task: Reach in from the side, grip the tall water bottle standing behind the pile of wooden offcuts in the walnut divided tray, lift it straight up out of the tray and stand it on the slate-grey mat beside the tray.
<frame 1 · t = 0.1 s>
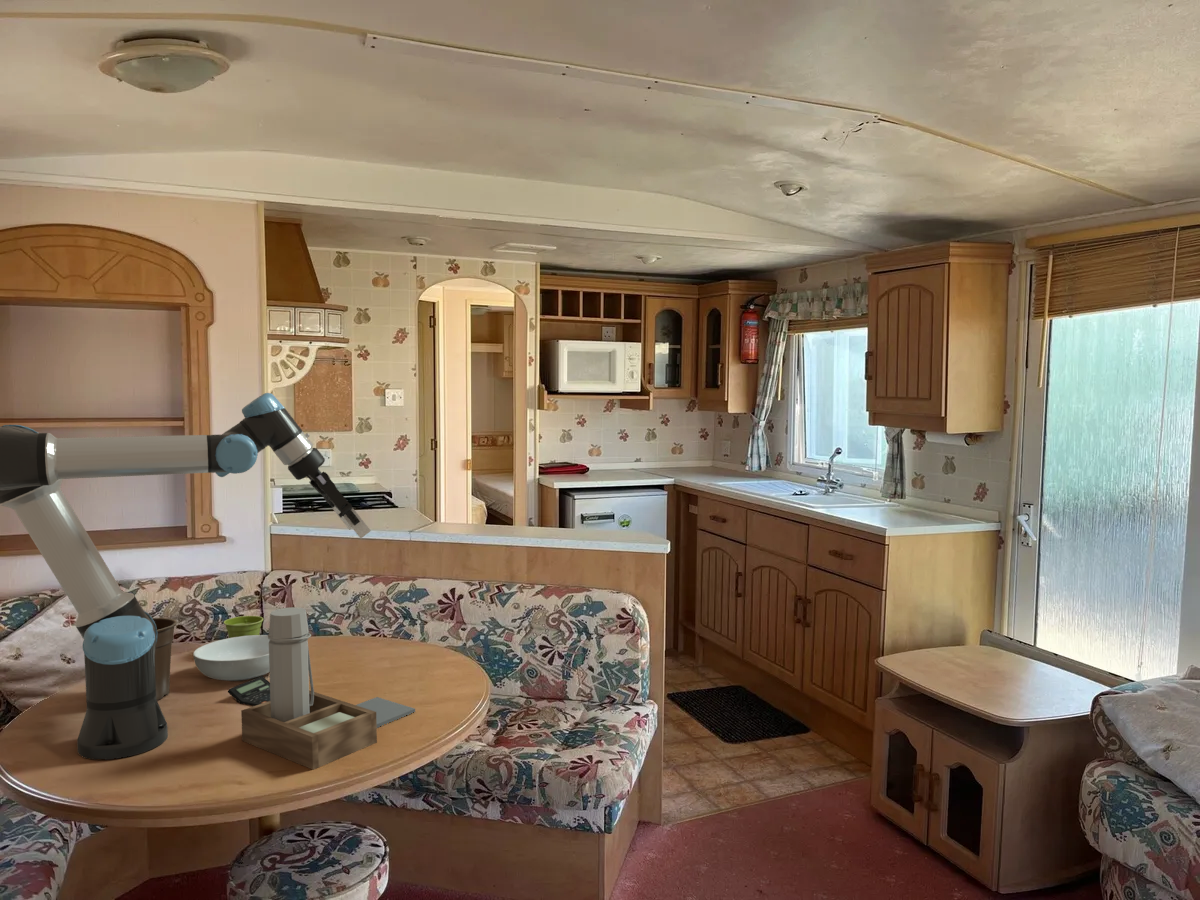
hand: (359, 530, 194), 36 cm above the table, tool tilted 35°, fingers open, 13 cm apart
water bottle: (295, 737, 167), resting in walnut divided tray
serving bowl: (242, 675, 203), on the table
calculator: (264, 699, 188), on the table
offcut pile: (328, 750, 161), resting in walnut divided tray
slate mat: (373, 715, 177), on the table
plant pot 2: (244, 653, 220), on the table
walnut divided tray: (309, 741, 164), on the table
plant pot: (137, 699, 188), on the table, touching arm
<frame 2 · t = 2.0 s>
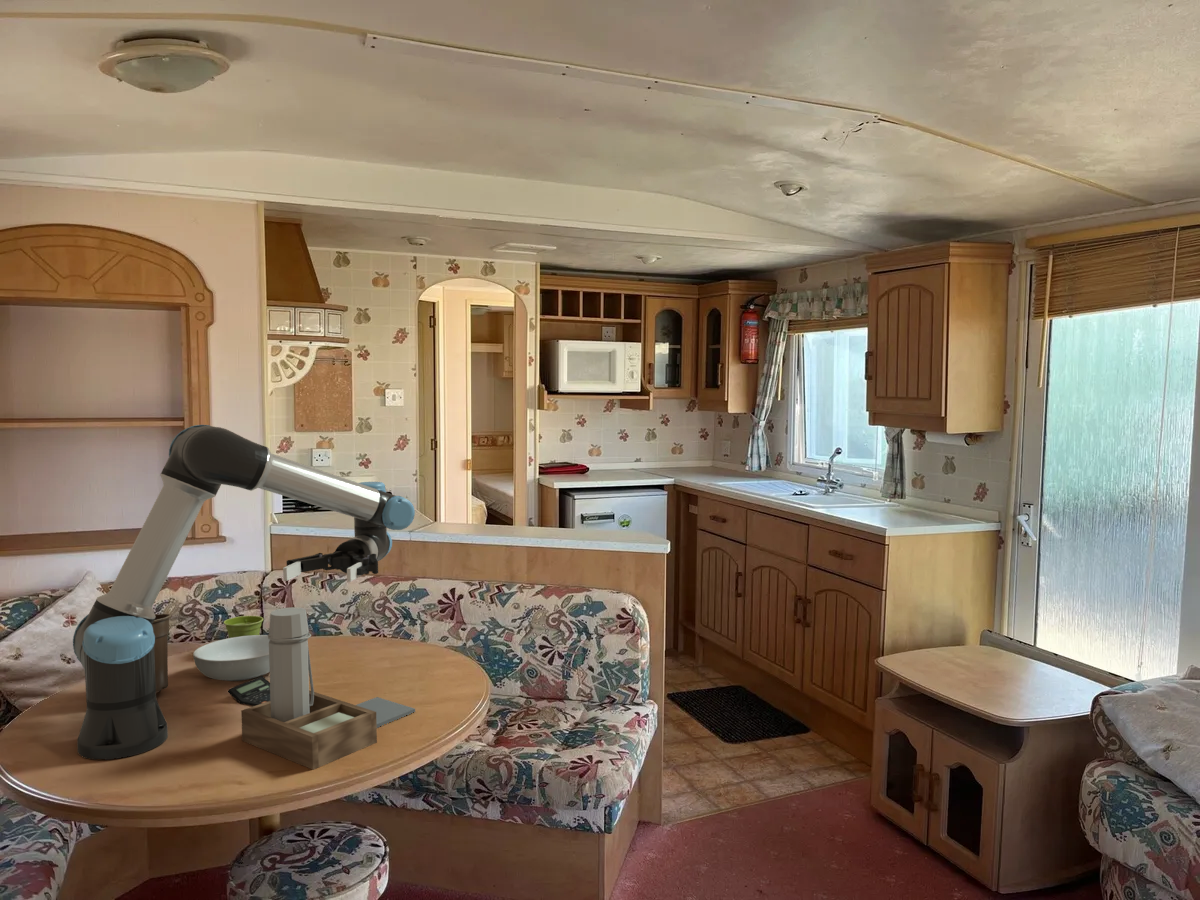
hand: (316, 574, 175), 30 cm above the table, tool horizontal, fingers open, 13 cm apart
plant pot: (136, 694, 188), point 1 cm above the table, touching arm
everything else where it was.
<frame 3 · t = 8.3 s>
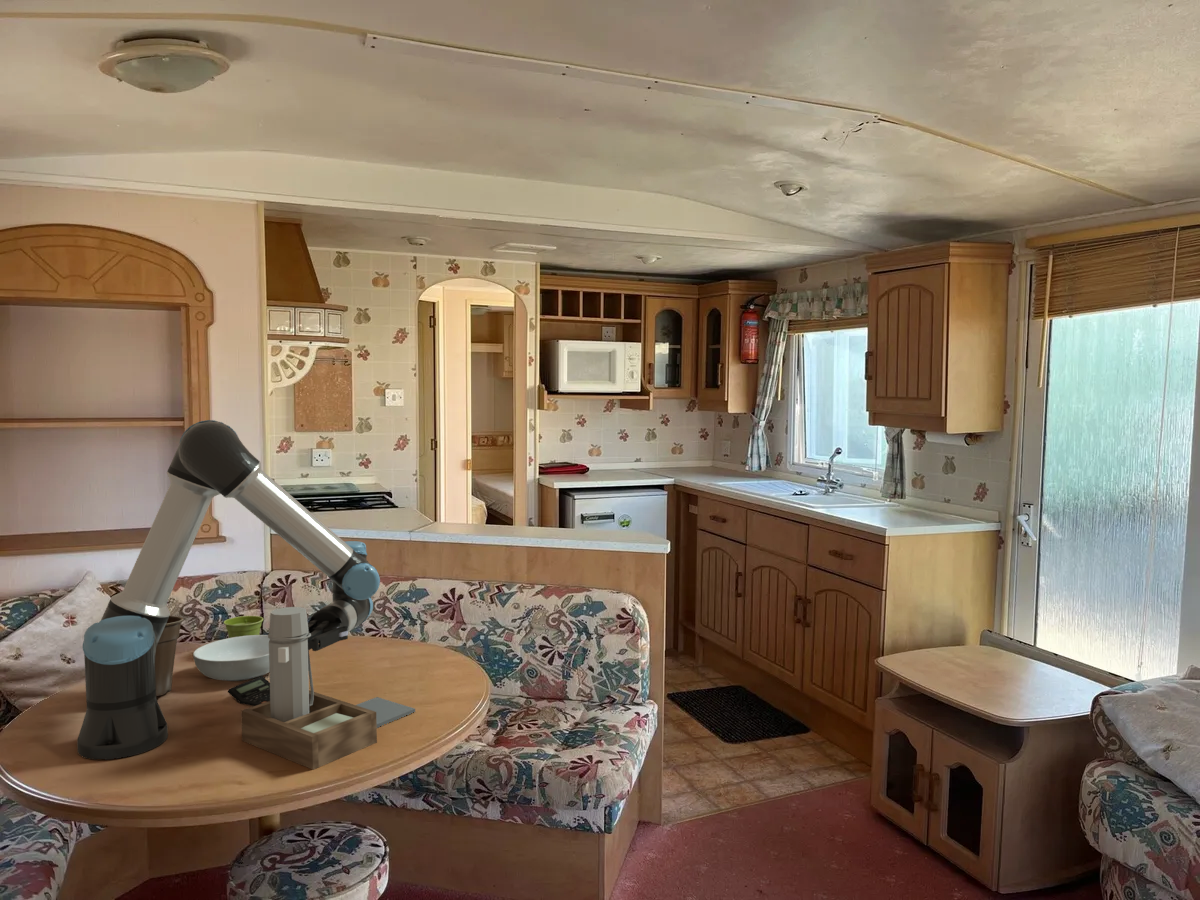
hand: (281, 655, 160), 18 cm above the table, tool horizontal, fingers closed
water bottle: (294, 737, 167), resting in walnut divided tray, touching gripper
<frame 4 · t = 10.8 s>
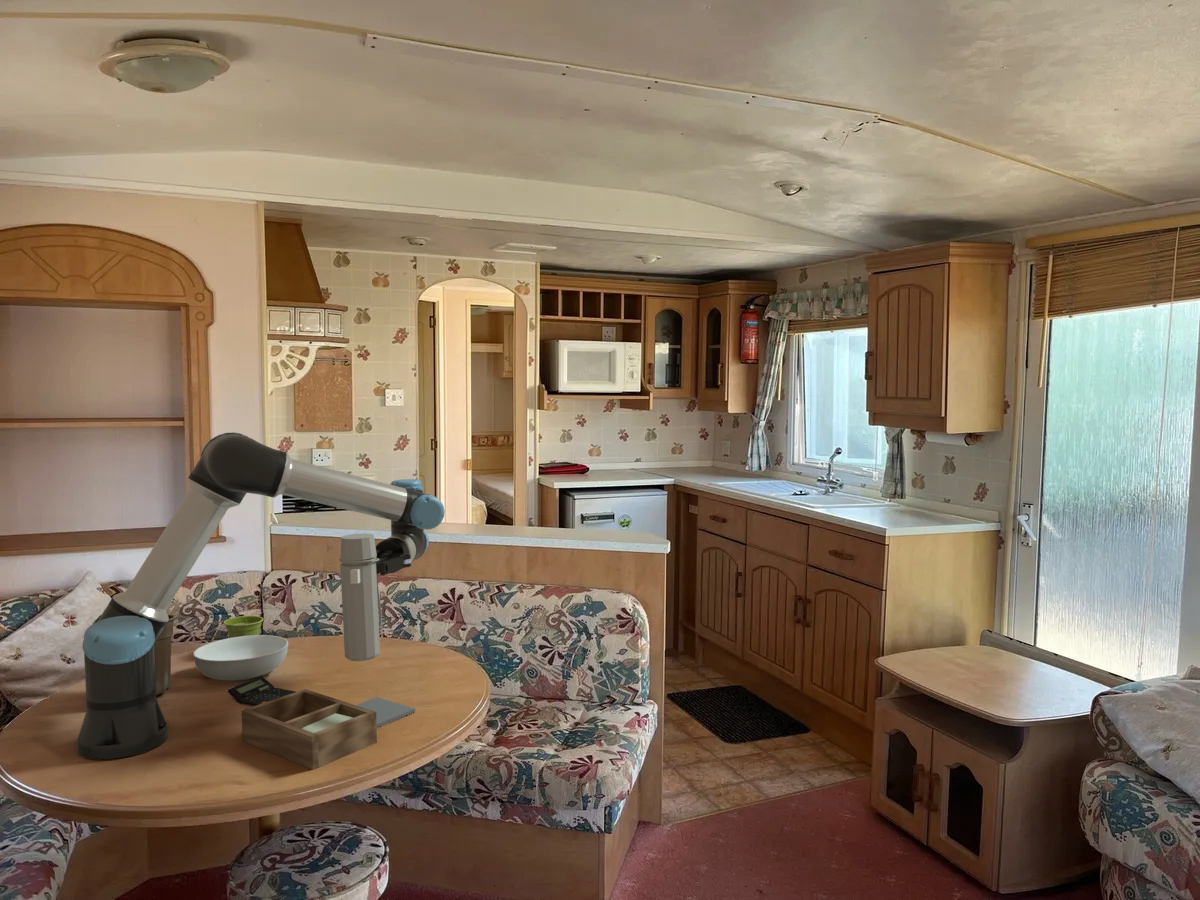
hand: (354, 576, 169), 31 cm above the table, tool horizontal, fingers closed
water bottle: (366, 656, 175), point 13 cm above the table, touching gripper
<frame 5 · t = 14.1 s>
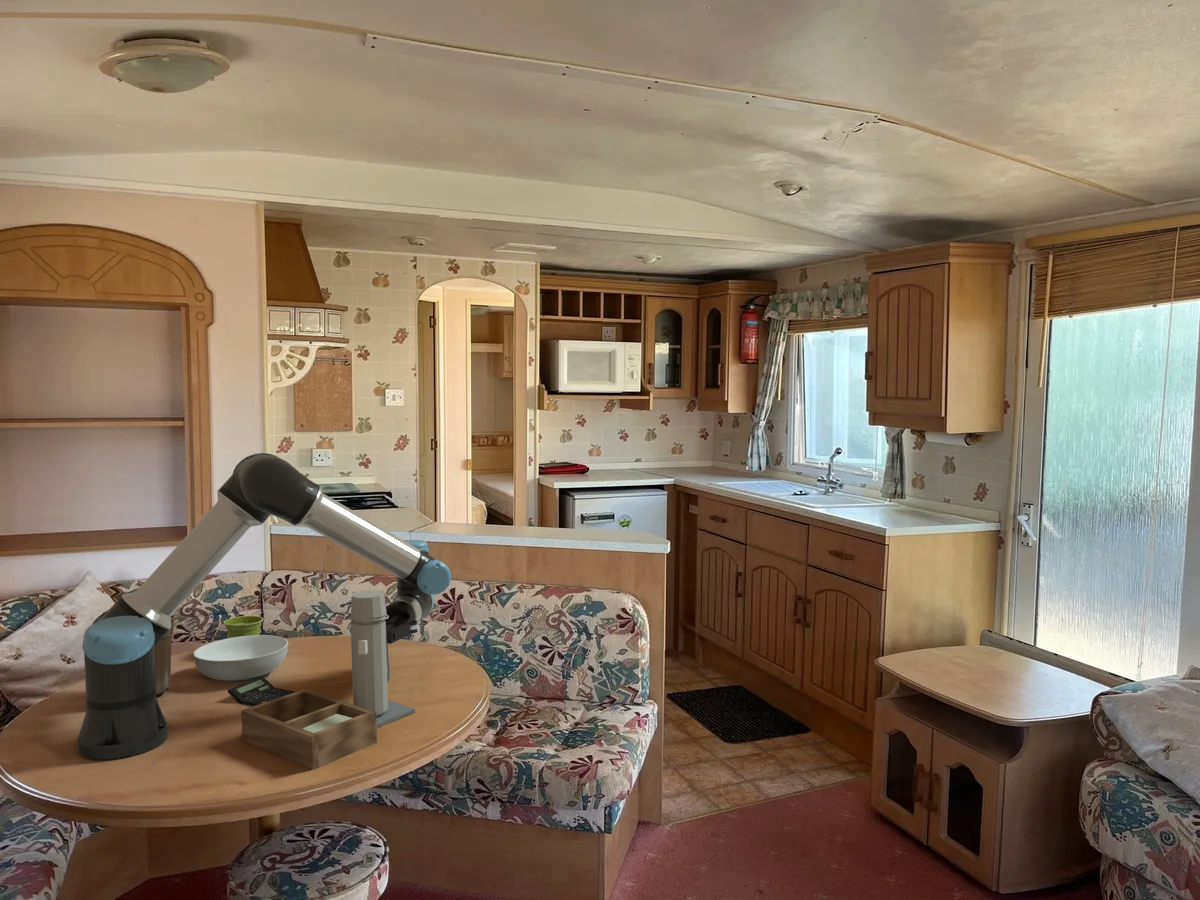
hand: (361, 647, 171), 16 cm above the table, tool horizontal, fingers closed
water bottle: (374, 712, 177), point 1 cm above the table, touching gripper, slate mat
everything else where it was.
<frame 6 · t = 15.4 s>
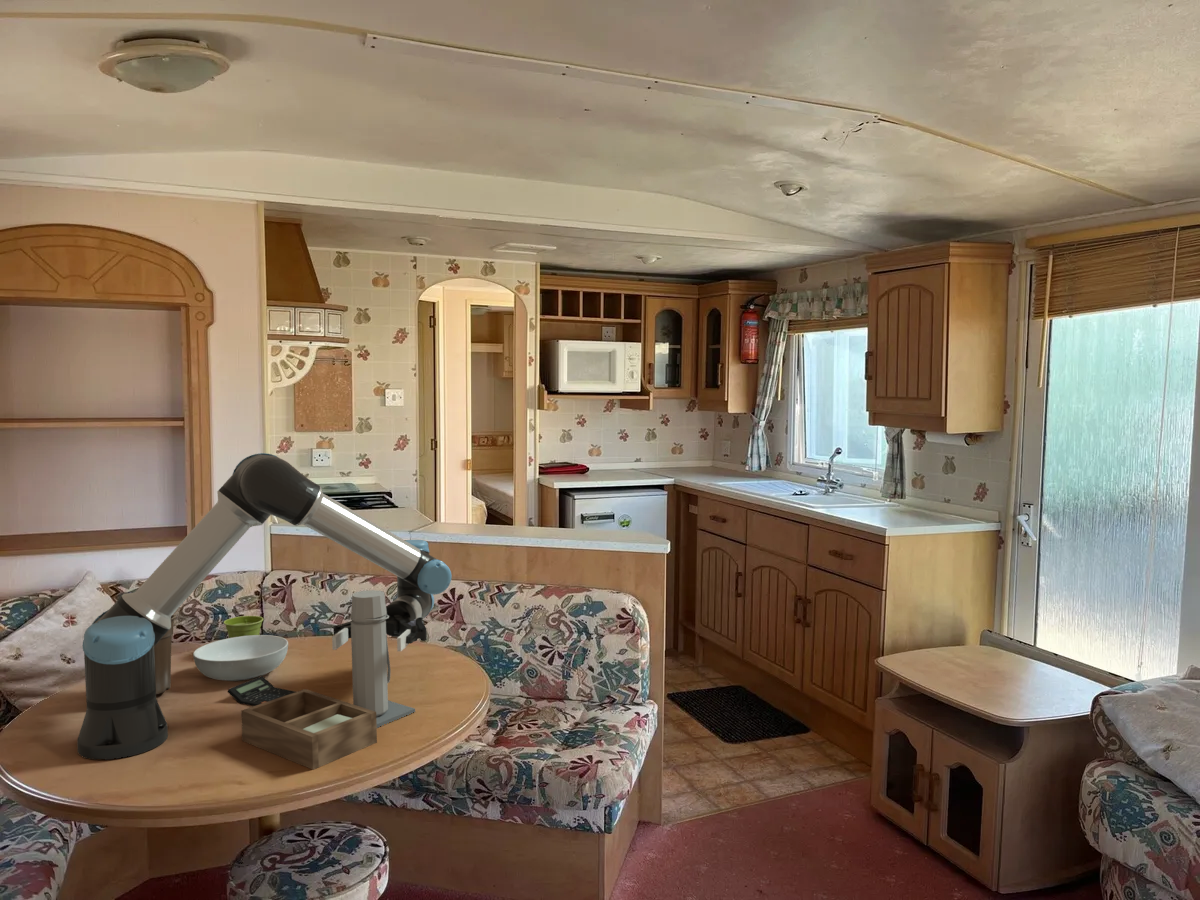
hand: (366, 644, 173), 16 cm above the table, tool horizontal, fingers open, 13 cm apart
water bottle: (374, 712, 177), point 1 cm above the table, touching slate mat
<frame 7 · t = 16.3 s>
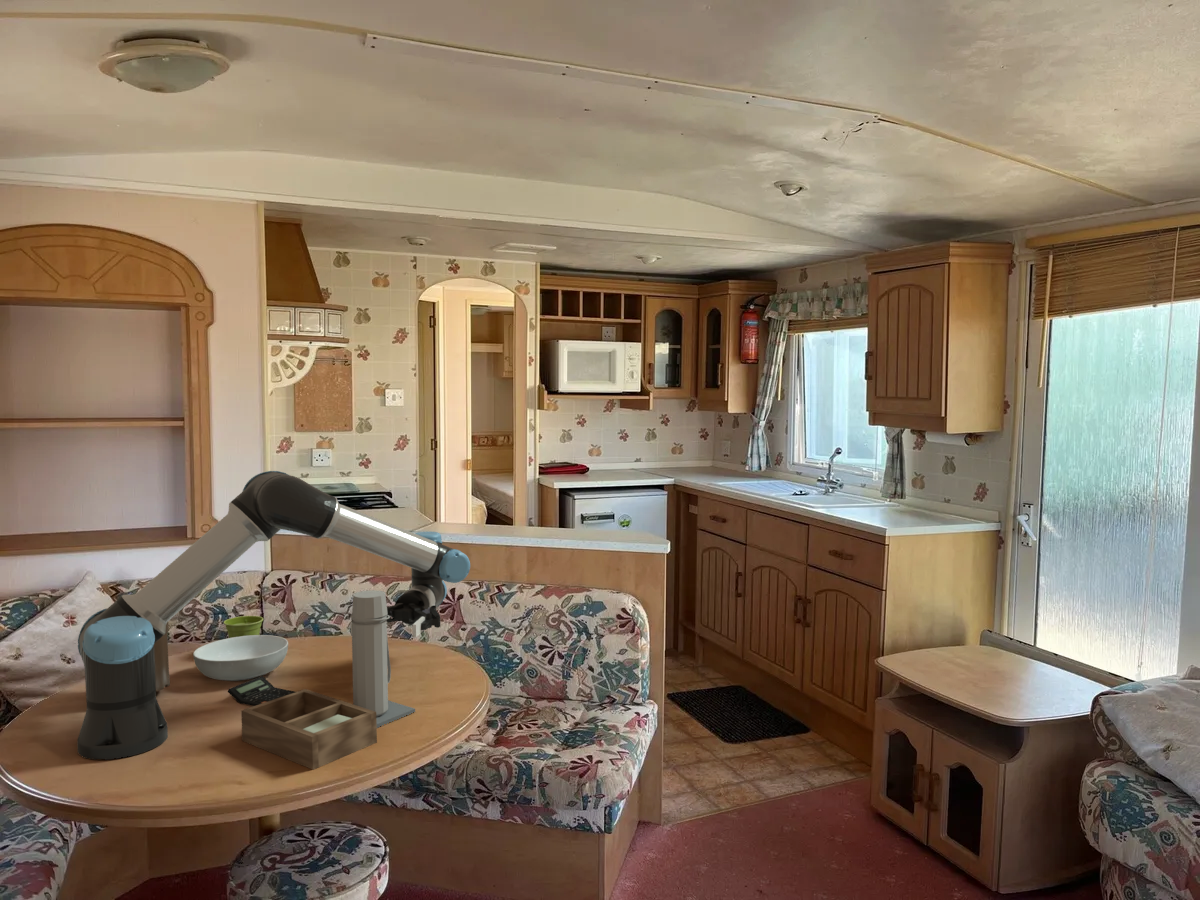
hand: (383, 630, 181), 17 cm above the table, tool horizontal, fingers open, 13 cm apart
plant pot: (138, 693, 188), point 1 cm above the table
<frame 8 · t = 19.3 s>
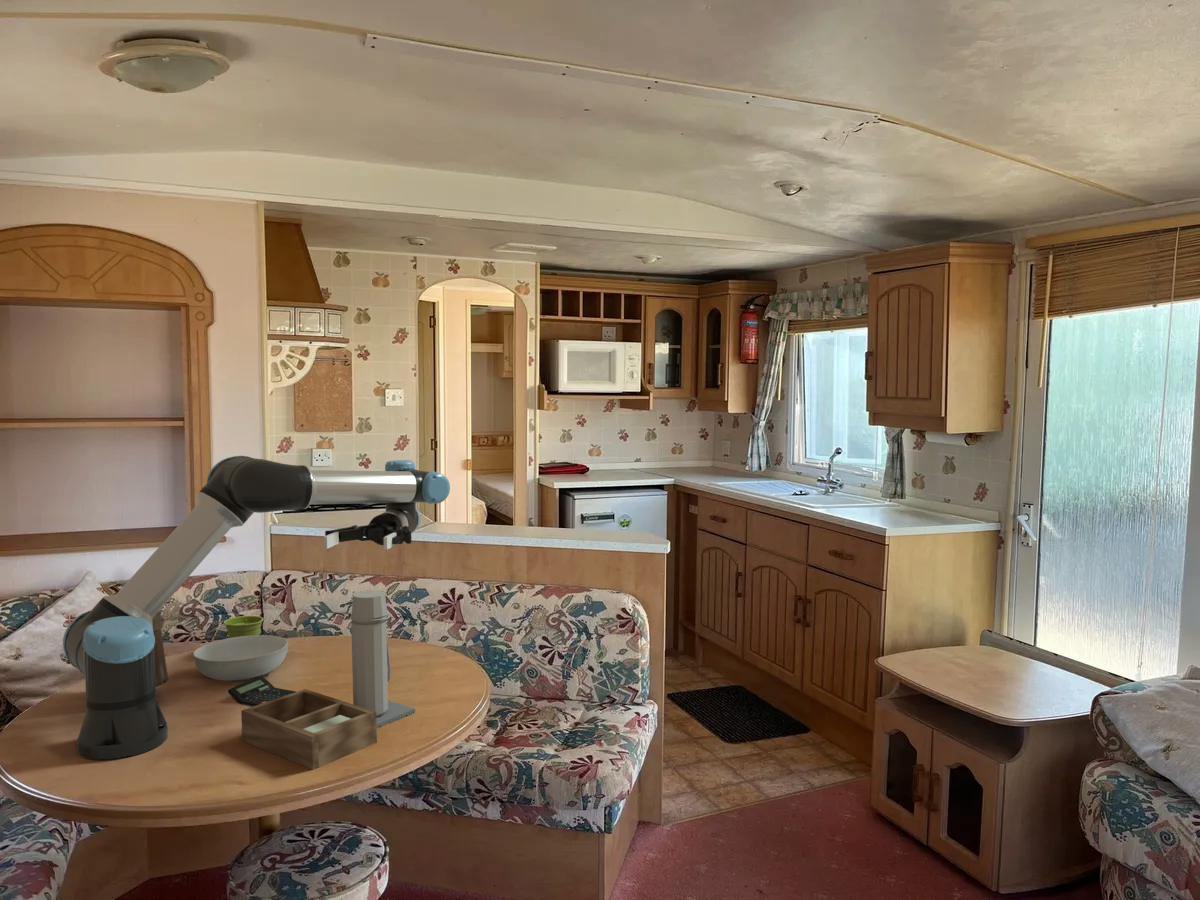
hand: (355, 543, 187), 34 cm above the table, tool horizontal, fingers open, 13 cm apart
plant pot: (138, 691, 188), point 1 cm above the table, touching arm
at the end: water bottle inside the target area on the slate mat (0.2 cm from its centre), point 0.6 cm above the slate mat's base; water bottle tilted 0°; the gripper is holding nothing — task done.
